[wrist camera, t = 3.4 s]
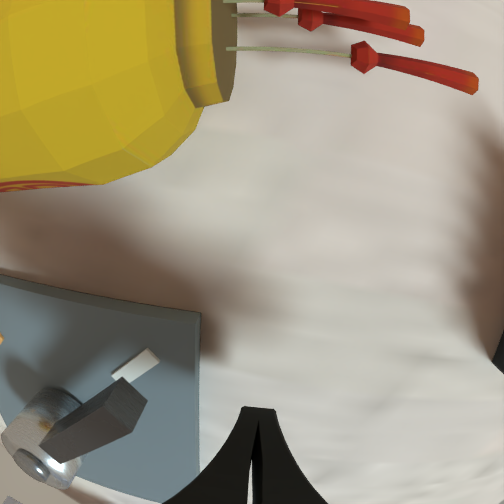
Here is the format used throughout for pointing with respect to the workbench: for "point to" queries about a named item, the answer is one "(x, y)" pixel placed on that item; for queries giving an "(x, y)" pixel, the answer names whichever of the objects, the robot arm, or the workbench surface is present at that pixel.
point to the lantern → (147, 77)
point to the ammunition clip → (499, 355)
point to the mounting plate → (108, 377)
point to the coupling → (69, 430)
